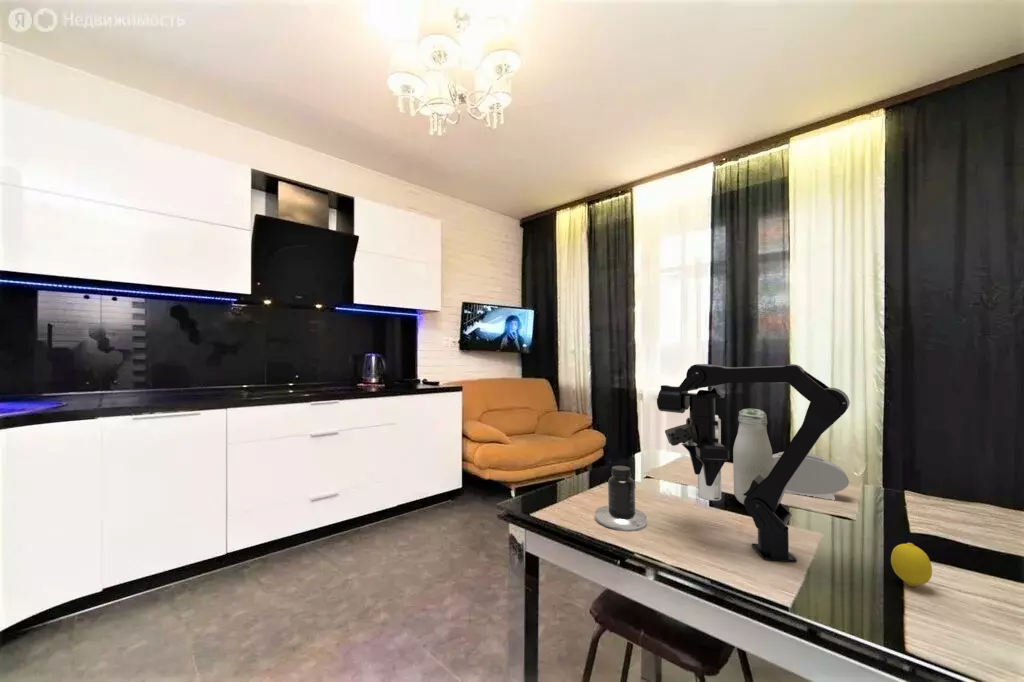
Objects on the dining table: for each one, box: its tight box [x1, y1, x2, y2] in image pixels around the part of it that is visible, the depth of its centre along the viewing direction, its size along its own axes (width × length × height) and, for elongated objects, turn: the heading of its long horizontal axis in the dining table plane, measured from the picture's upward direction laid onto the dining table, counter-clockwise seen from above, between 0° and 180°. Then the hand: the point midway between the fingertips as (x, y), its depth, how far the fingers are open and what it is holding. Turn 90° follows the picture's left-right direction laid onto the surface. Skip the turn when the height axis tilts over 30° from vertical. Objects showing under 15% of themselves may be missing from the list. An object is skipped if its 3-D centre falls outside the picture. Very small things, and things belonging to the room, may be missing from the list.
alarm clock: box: [772, 451, 850, 501], centre depth 129 cm, size 23×6×13 cm, turn 57°
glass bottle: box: [732, 408, 773, 506], centre depth 117 cm, size 10×10×28 cm
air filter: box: [697, 414, 722, 501], centre depth 125 cm, size 6×6×25 cm
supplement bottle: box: [607, 465, 636, 519], centre depth 107 cm, size 7×7×12 cm
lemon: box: [890, 542, 933, 587], centre depth 77 cm, size 6×6×8 cm
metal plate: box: [594, 505, 648, 532], centre depth 106 cm, size 13×13×2 cm
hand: (702, 479), depth 99 cm, fingers open, 9 cm apart
